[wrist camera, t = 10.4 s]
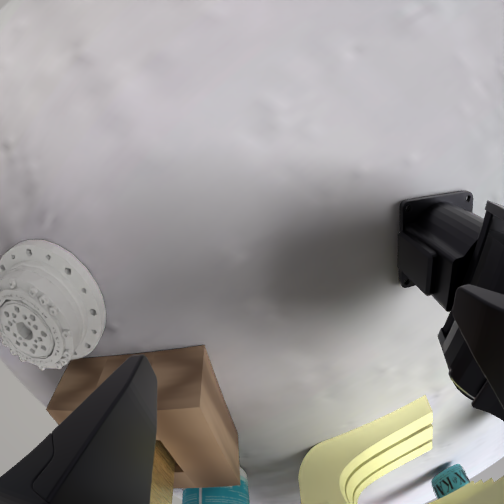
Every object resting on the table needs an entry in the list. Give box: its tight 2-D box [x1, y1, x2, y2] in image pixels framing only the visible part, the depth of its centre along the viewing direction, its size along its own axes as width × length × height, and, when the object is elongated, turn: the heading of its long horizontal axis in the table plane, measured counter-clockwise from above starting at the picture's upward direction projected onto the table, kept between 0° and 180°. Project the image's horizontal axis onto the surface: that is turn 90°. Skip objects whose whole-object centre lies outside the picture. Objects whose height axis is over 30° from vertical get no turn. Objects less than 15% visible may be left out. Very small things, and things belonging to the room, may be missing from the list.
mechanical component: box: [0, 240, 106, 371], centre depth 19 cm, size 10×4×10 cm
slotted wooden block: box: [46, 345, 241, 488], centre depth 22 cm, size 12×12×6 cm
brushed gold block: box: [150, 440, 175, 504], centre depth 19 cm, size 3×4×10 cm
